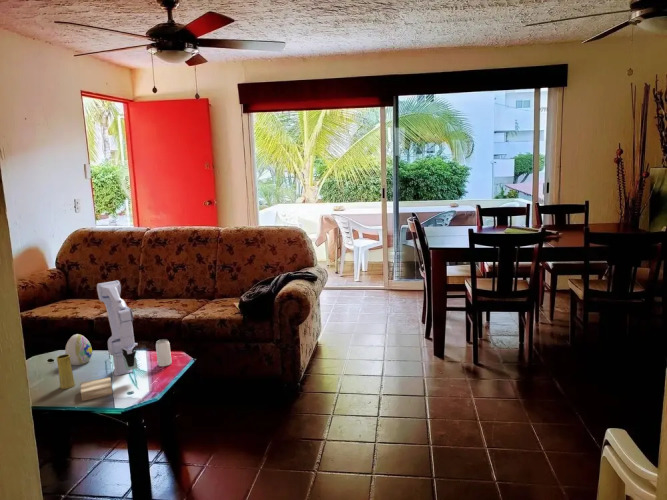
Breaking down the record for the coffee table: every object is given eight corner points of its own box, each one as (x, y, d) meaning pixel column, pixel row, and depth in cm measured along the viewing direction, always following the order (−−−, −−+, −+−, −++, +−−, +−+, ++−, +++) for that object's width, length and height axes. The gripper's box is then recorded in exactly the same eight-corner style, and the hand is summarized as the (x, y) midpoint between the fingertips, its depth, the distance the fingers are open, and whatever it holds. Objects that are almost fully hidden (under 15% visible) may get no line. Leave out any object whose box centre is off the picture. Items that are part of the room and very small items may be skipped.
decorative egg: (86, 366, 262) (82, 337, 260) (62, 367, 262) (57, 339, 260) (97, 357, 274) (93, 330, 272) (74, 359, 274) (70, 331, 272)
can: (167, 367, 253) (164, 343, 251) (155, 366, 254) (152, 343, 253) (174, 362, 259) (171, 338, 258) (162, 362, 261) (159, 338, 259)
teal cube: (124, 367, 238) (123, 356, 237) (136, 364, 240) (135, 354, 239) (125, 370, 233) (124, 360, 233) (137, 368, 236) (136, 357, 235)
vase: (63, 384, 240) (59, 354, 238) (77, 382, 241) (72, 353, 238) (57, 389, 234) (53, 359, 232) (71, 388, 235) (67, 357, 232)
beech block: (82, 391, 231) (81, 383, 230) (111, 385, 236) (110, 377, 235) (82, 401, 220) (80, 392, 220) (112, 395, 225) (111, 386, 224)
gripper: (137, 338, 230) (141, 367, 232) (134, 330, 243) (138, 357, 245) (120, 341, 227) (124, 371, 229) (118, 332, 240) (122, 361, 242)
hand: (130, 364), depth 237 cm, fingers closed on teal cube, 5 cm apart
